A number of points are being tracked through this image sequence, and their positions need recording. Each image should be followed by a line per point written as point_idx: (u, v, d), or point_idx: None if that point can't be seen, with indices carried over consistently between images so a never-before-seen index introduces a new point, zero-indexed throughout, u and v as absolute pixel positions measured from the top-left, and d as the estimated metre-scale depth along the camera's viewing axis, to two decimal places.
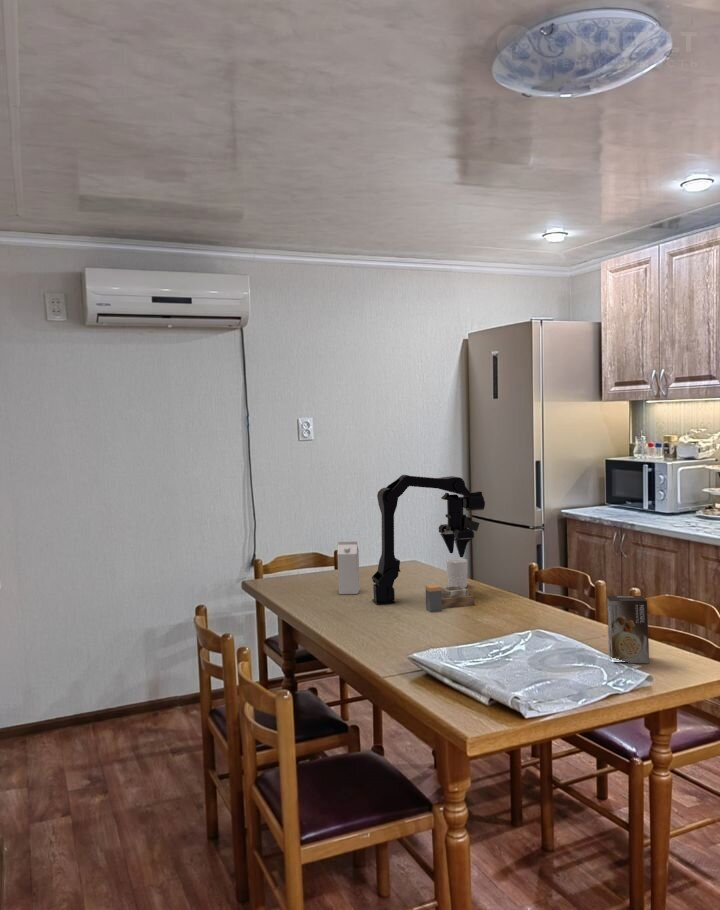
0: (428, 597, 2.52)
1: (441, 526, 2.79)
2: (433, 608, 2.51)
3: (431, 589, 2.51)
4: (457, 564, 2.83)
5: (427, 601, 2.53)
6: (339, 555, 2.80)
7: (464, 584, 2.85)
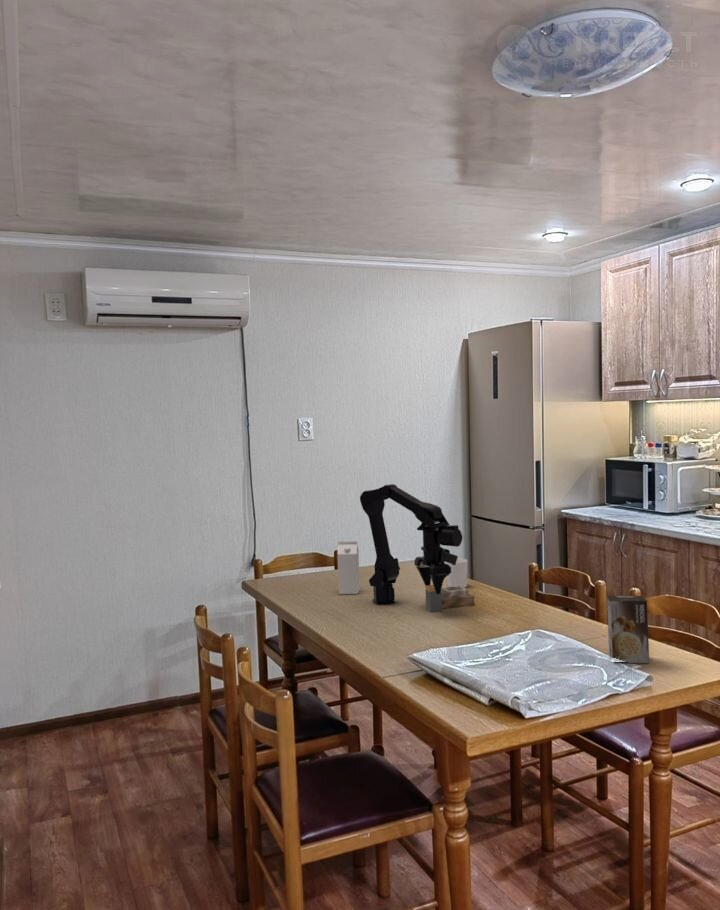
0: (428, 597, 2.52)
1: (417, 559, 2.59)
2: (433, 608, 2.51)
3: (431, 589, 2.51)
4: (457, 564, 2.83)
5: (427, 601, 2.53)
6: (339, 555, 2.80)
7: (464, 584, 2.85)
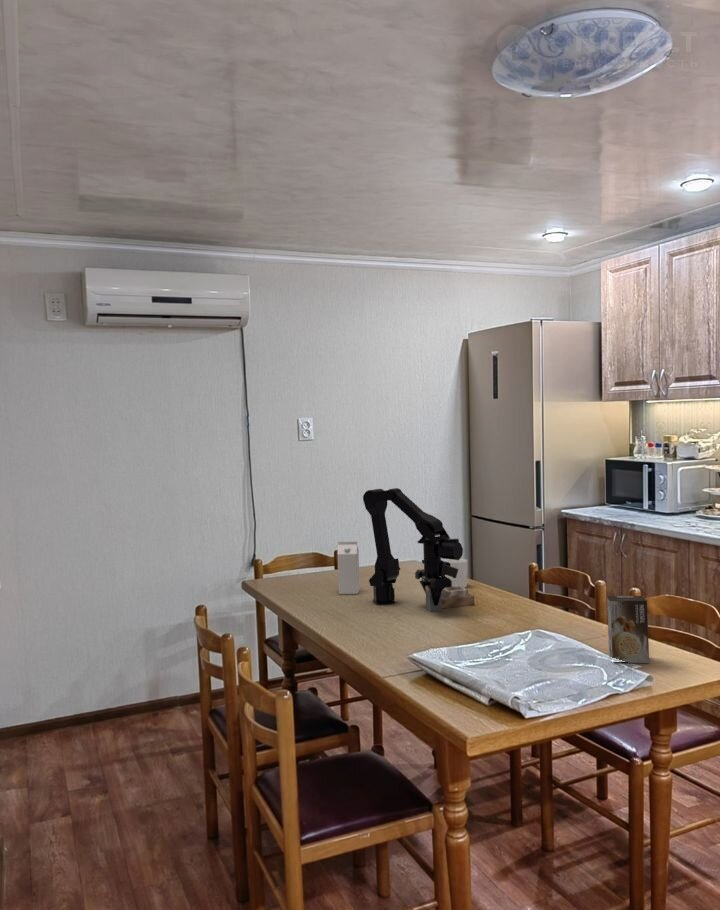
0: (428, 597, 2.52)
1: (418, 572, 2.59)
2: (433, 608, 2.51)
3: None
4: (457, 564, 2.83)
5: (427, 601, 2.53)
6: (339, 555, 2.80)
7: (464, 584, 2.85)
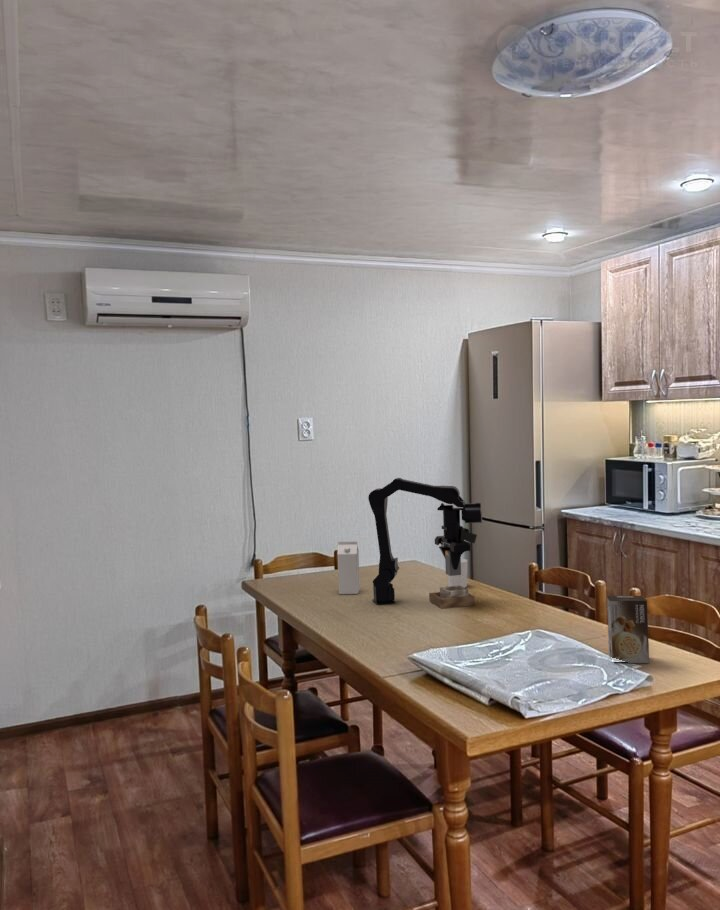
0: (448, 561, 2.60)
1: (437, 538, 2.67)
2: (453, 572, 2.60)
3: None
4: None
5: (447, 565, 2.62)
6: (339, 555, 2.80)
7: (464, 584, 2.85)
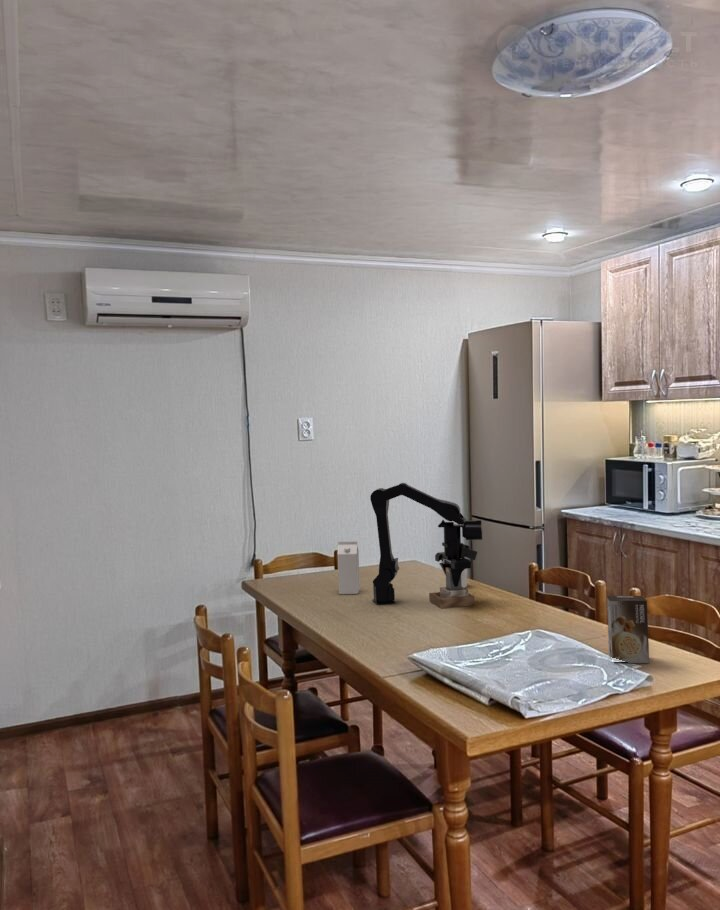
0: (448, 578, 2.61)
1: (438, 554, 2.68)
2: (453, 589, 2.60)
3: None
4: None
5: (447, 582, 2.62)
6: (339, 555, 2.80)
7: (464, 584, 2.85)
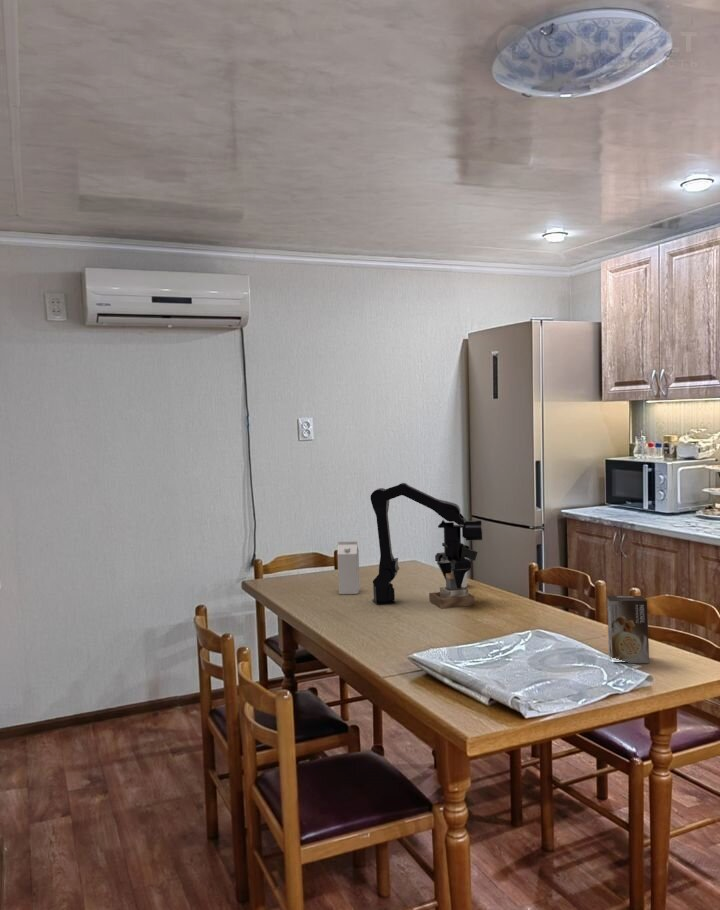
0: (448, 584, 2.61)
1: (438, 555, 2.68)
2: None
3: (451, 576, 2.60)
4: None
5: (447, 588, 2.62)
6: (339, 555, 2.80)
7: (464, 584, 2.85)
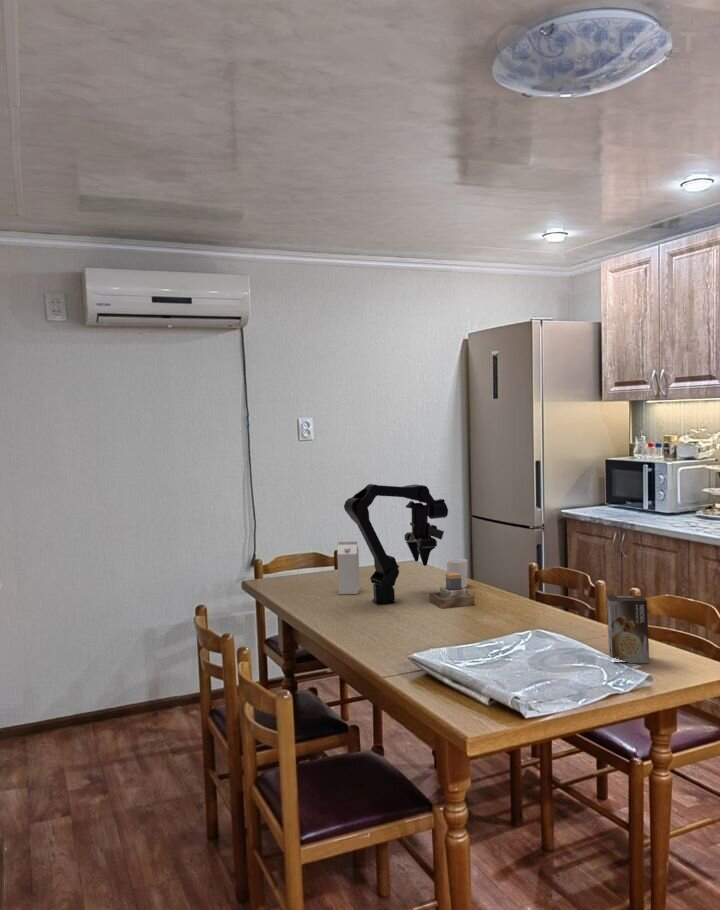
0: (448, 584, 2.61)
1: (407, 534, 2.79)
2: None
3: (451, 576, 2.60)
4: (457, 564, 2.83)
5: (447, 588, 2.62)
6: (339, 555, 2.80)
7: (464, 584, 2.85)
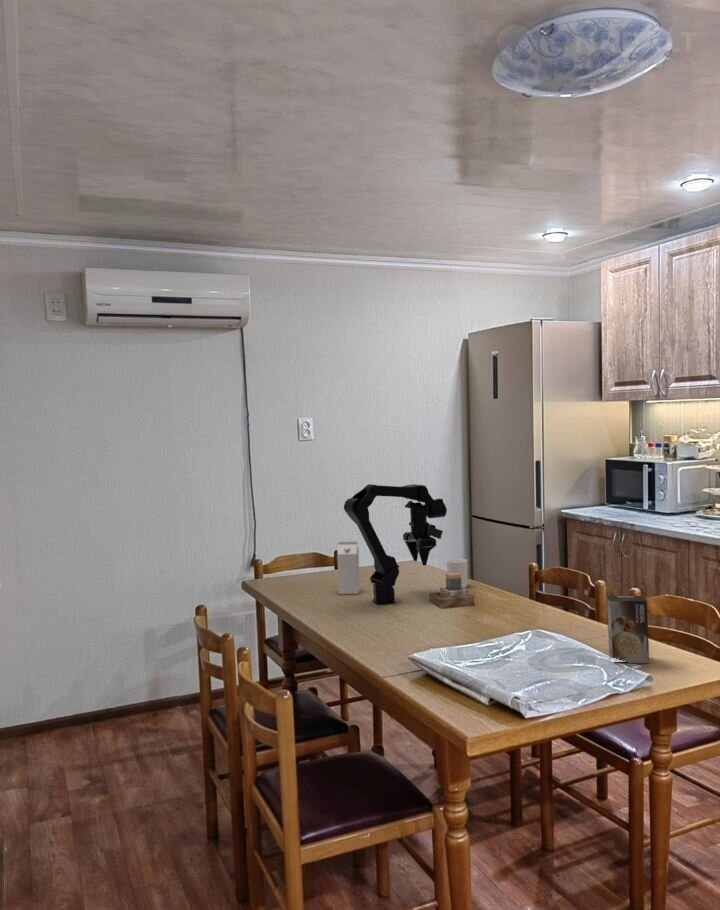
0: (448, 584, 2.61)
1: (405, 534, 2.79)
2: None
3: (451, 576, 2.60)
4: (457, 564, 2.83)
5: (447, 588, 2.62)
6: (339, 555, 2.80)
7: (464, 584, 2.85)
